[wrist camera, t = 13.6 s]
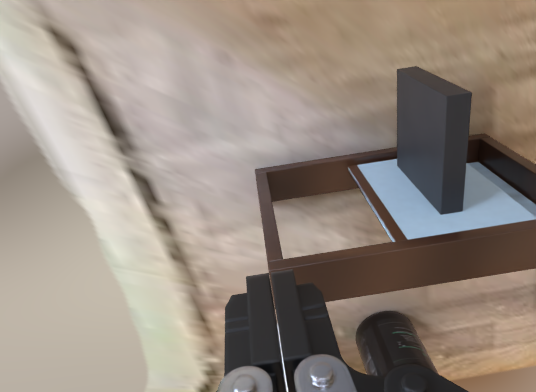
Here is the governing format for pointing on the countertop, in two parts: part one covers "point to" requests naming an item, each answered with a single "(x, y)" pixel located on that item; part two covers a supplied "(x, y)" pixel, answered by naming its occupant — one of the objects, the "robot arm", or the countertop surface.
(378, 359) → the supplement bottle
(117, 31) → the countertop surface
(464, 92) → the window pane
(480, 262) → the window frame
